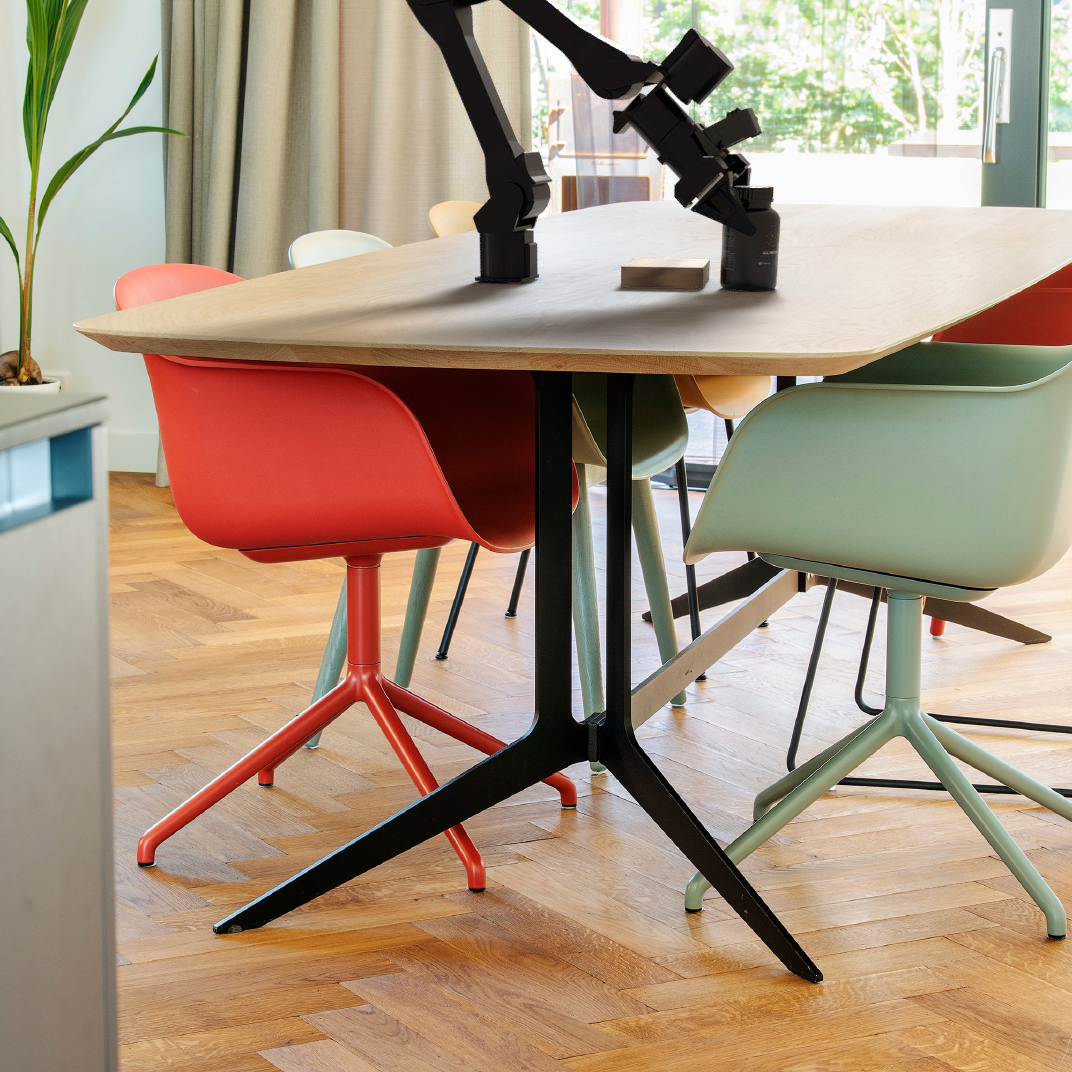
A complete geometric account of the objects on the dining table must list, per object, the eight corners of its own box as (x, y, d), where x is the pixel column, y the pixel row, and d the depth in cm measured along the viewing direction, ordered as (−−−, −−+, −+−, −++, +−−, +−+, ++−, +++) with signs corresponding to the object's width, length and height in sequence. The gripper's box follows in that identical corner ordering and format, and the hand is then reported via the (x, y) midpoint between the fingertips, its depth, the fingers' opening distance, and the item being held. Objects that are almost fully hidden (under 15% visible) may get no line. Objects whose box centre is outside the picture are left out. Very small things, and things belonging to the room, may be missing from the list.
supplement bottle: (776, 292, 153) (781, 187, 150) (717, 291, 155) (721, 187, 151) (777, 285, 160) (782, 184, 156) (721, 284, 161) (725, 184, 157)
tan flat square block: (620, 287, 159) (621, 266, 159) (631, 277, 169) (631, 258, 168) (702, 288, 157) (703, 267, 157) (709, 279, 167) (709, 259, 166)
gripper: (705, 80, 143) (801, 185, 143) (735, 84, 160) (821, 178, 160) (634, 155, 148) (727, 256, 148) (671, 151, 165) (755, 242, 164)
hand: (761, 230), depth 155 cm, fingers open, 9 cm apart
